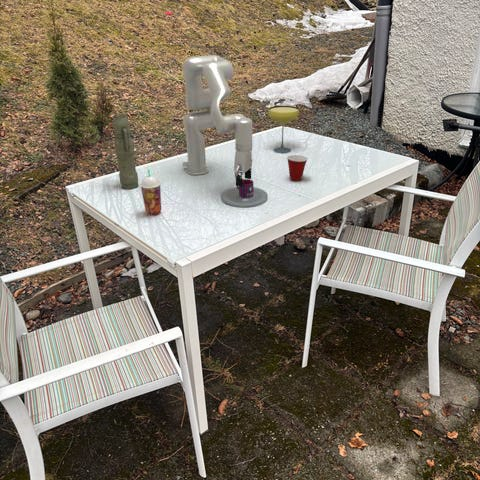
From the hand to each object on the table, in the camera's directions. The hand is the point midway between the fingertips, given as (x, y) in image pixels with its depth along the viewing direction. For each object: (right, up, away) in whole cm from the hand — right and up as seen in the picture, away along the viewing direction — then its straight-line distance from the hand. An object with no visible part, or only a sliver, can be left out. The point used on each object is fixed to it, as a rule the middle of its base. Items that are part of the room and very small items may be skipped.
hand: (243, 182), depth 204 cm
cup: (0, -5, +4) cm, 7 cm away
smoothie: (-40, -15, -10) cm, 44 cm away
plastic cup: (+27, +4, +23) cm, 36 cm away
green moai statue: (-57, 0, +18) cm, 60 cm away
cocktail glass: (+24, +28, +65) cm, 75 cm away
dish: (0, -7, +3) cm, 8 cm away
